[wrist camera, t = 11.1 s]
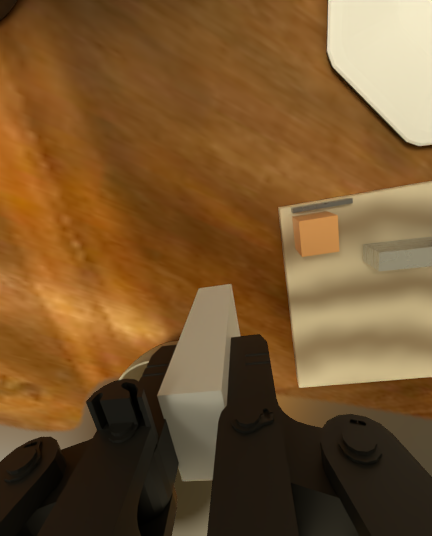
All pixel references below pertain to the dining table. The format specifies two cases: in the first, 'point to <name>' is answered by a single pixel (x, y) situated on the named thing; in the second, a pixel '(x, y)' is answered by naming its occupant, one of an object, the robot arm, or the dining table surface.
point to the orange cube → (316, 233)
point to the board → (361, 293)
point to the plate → (386, 59)
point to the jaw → (399, 254)
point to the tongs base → (322, 205)
